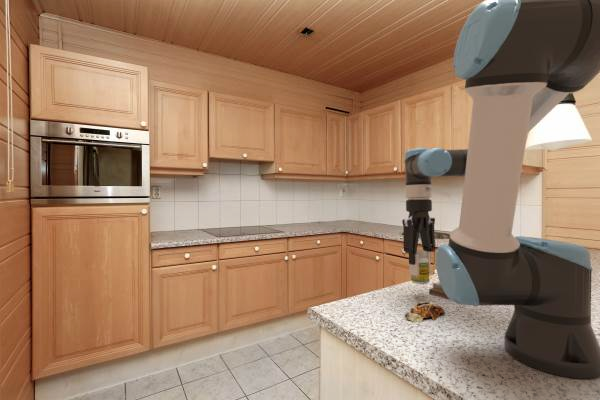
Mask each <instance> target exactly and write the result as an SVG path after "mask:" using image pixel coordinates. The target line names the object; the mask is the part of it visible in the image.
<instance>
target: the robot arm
mask: <svg viewBox="0 0 600 400" xmlns="http://www.w3.org/2000/svg"><path fill="white" fill-rule="evenodd" d="M452 63H453V68H454V71H453V72H454V73H455V75H456V77H458V78H460V79H461V80H465V82H464V85H465V87H464V92H465V93H466V94H467V95H468V96H469V97H470V98H471V100H472V109H471V117H470V125H469V127H470V128H469V133H468V135H469V136H468V142H467V143H468V144H467V149H465V148H463V149H460V148H458V149H444V148H443V147H442V148H441V147H433V148H426V147H424V148H423V147H418V148H412V149H408V150H406V152H405V153H404V168H405V169H404V170H405V171H404V172H405V173H404V175H405V198H406V199H407V200H405V211H406V212H408V218H406V219H405V218H404V219H402V221H401V223H402V226H403V252H404V253H406V254H408V264H409V275H410V276H411V275H415V276H419V258H418V254H416V252H417V250H418V246H419V245H418V244H419V238H420V241H421V245H422V251H426V256H425V257H426V258H427V259H428V260H429V274H431V273H432V265H431V263H432V262H431V258H432V257H431V255H432V254H431V252H434V251H435V249H436V236H435V234H436V232H435V224H436V222H435V221H436V218H435V217H430V214H429V213H430V212H432V211H433V201H432V199H431V198H432V188H433V187H432V178H453V177H454V178H456V177H458V178H459V177H464V180H463V181H464V182H463V187H462V190H463V191H462V198H461V207H460V215H459V225H458V227H456V228H455V229H453V230H452V231H450V232H449V238H448V244H446V243H445V244H442V245H440V246H438V247H437V249H436V251H435V255H434V256H435V259H434V260H435V262H434V263H435V268H436V274H437V277H438V280H439V281H440V284H441V286H442V288H443V290H444V292H445V294H446V295H447V297H448V298H449V299H450V300H449V299H448V300H449V301H451V302H452V303H453V304H456V305H460V306H472V307H479V306H514V307H513V309H514V310H513V312H512V316H511V319H510V321H509V324H508V326H507V327H506V331H505V333H504V339H503V340H504V341H503V342H504V346H503V347H504V349H505V351H506V352H507V353H508V354H509V355H511V357H513V358H514V359H516V360H518V361H519V362H520V363H523V364H524V365H527V366H529V367H532V368H533V369H536V370H539V371H541V372H544V373H548V374H552V375H555V376H560V377H566V378H573V379H584V380H585V379H596V378H599V377H600V344H599V342H598V339H597V337H596V335H595V332H594V329H593V328H592V272H593V268H592V263H591V254H590V253H591V252H590V251H589V250H588V249H587V248H586V247H585V246H583V245H580V244H577V243H571V242H565V241H560V240H555V239H554V240H553V239H547V238H541V237H531V236H523V235H519V236H518V235H517V236H514V235H513V234H512V233H513V226H514V220H515V213H516V207H517V202H518V196H519V195H518V194H519V188H520V183H521V176H522V169H523V163H524V157H525V152H526V151H525V150H526V145H527V144H526V143H527V139H528V138H527V137H528V134H529V132H531V131H532V130H533V129H534V128H535V127H536V126H537V125H538V124H539V123H540V122H541V121H543V119H544V118H545V117H547V115H548V114H549V113H550V112H551V111H552V110H553V109H554V108H555V107H557V106H558V105H559V104H560V103H561V102H562V101H563V100H564V99H565V98H566V97H567V96H568V95H569V94H575V93H577V92H579V91H581V90H583V89H584V88H585V87H586V86H587V85H588V84H589V83H591V82H592V80H594V78H596V76H597V75H599V73H600V0H484V1H483V2H481V3H480V4H479V5H477V6H476V7H475V8H474V9H473V10H472V12H471V13H470V15H469V16H468V17H467V18H466V21H465V23H464V25H463V26H462V29H461V30H460V32H459V35H458V38H457V40H456V44H455V48H454V53H453V62H452ZM439 281H438V282H439Z"/></svg>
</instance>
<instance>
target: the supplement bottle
mask: <svg viewBox="0 0 600 400" xmlns="http://www.w3.org/2000/svg"><path fill="white" fill-rule="evenodd" d="M416 254H418V258H419V276H415V275H410V280H411V283H413V284H417V285H427V284H429V283H430V273H429V260H428V259H427V258H426V257H425V256H426V251H424V250H421V249H419V250H418V249H417V252H416Z"/></svg>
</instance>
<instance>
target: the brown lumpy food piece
mask: <svg viewBox="0 0 600 400" xmlns="http://www.w3.org/2000/svg"><path fill="white" fill-rule="evenodd" d="M441 313H442V314H443V315H444V314H445V313H446V312H445V310H444V308H443V307H442V306H441V305H435V303H434V302H432V301H430V300H426V301H422V302H417V304H416V306H413V307H412V308H411V309H410V312H408V311H407V312H405V313H404V320H405V321H410V322H412V323H416V322H418V323H421V322H423V319H424V318H425V319H427V318H430V317H431V319H432V320H433V321H436V320H438V319H439V317H440V314H441ZM437 318H438V319H437ZM440 318H441V317H440Z"/></svg>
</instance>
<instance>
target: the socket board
mask: <svg viewBox="0 0 600 400" xmlns="http://www.w3.org/2000/svg"><path fill="white" fill-rule="evenodd" d="M428 292H429V293H428V294H429V295H432V296H436V297H439V298H443V299H446V300H449V301H451V300H450V299H449V298H448V297H447V295H446V294H445V292H444V290H443V288H442V286H441V284H440V281H436V282H433V283H432V287H431V288H429V291H428Z"/></svg>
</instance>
